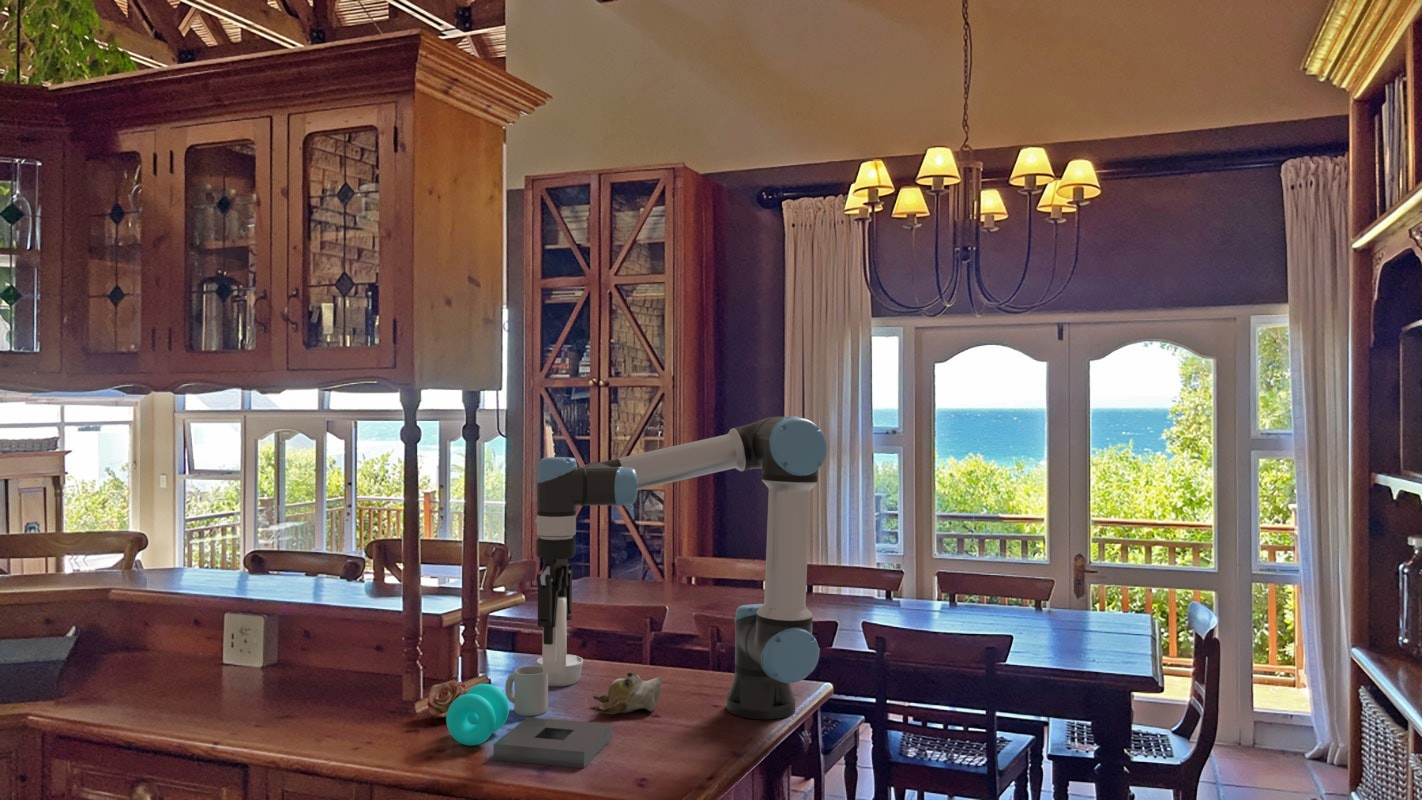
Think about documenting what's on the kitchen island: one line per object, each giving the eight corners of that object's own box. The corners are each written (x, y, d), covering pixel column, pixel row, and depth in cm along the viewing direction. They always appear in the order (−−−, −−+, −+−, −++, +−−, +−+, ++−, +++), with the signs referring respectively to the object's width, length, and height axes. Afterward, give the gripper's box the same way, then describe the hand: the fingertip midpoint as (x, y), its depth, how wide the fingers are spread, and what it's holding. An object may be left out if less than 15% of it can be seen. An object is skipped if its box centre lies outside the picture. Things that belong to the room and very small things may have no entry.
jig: (611, 739, 194) (611, 724, 194) (584, 768, 178) (584, 751, 178) (527, 732, 197) (527, 717, 197) (493, 759, 182) (493, 743, 182)
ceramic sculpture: (664, 676, 208) (593, 683, 205) (666, 716, 208) (596, 724, 205) (658, 663, 218) (591, 670, 216) (660, 701, 218) (593, 709, 216)
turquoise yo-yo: (443, 746, 189) (443, 694, 189) (464, 729, 199) (465, 680, 199) (491, 749, 188) (492, 697, 188) (511, 732, 197) (511, 683, 197)
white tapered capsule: (569, 668, 189) (569, 596, 190) (560, 674, 185) (561, 601, 185) (547, 666, 190) (548, 595, 190) (539, 672, 186) (540, 599, 186)
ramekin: (585, 686, 230) (585, 664, 230) (537, 689, 227) (537, 667, 227) (580, 674, 241) (580, 652, 241) (535, 676, 238) (535, 655, 238)
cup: (537, 718, 206) (537, 676, 206) (496, 712, 210) (497, 671, 210) (553, 708, 213) (554, 667, 213) (514, 703, 216) (514, 663, 217)
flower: (434, 701, 212) (424, 680, 207) (473, 693, 212) (464, 671, 208) (432, 736, 204) (422, 714, 200) (472, 727, 205) (463, 705, 201)
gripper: (554, 530, 197) (553, 645, 197) (519, 541, 180) (518, 667, 180) (589, 531, 196) (588, 647, 195) (557, 543, 179) (556, 670, 178)
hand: (554, 656), depth 188 cm, fingers closed on white tapered capsule, 4 cm apart
